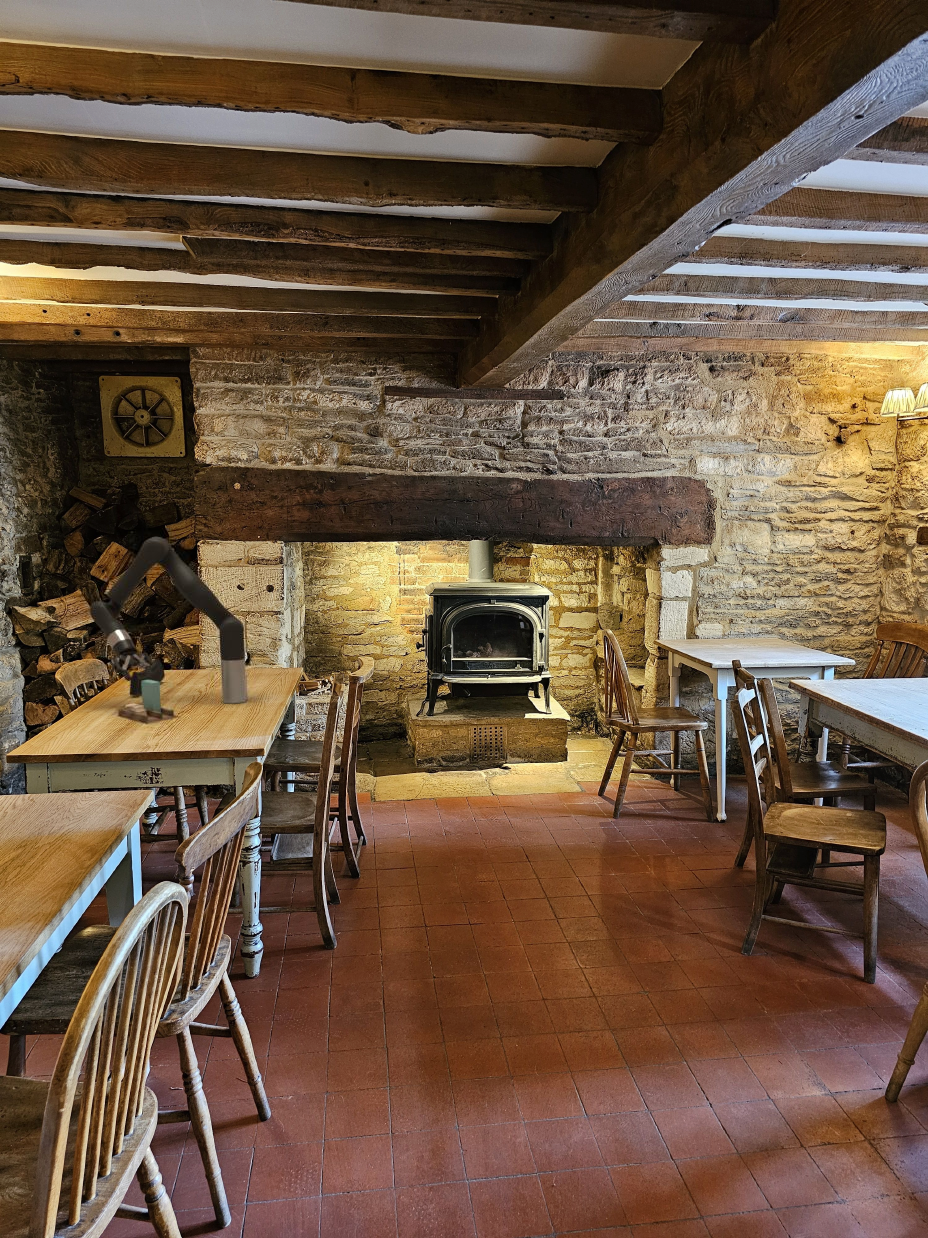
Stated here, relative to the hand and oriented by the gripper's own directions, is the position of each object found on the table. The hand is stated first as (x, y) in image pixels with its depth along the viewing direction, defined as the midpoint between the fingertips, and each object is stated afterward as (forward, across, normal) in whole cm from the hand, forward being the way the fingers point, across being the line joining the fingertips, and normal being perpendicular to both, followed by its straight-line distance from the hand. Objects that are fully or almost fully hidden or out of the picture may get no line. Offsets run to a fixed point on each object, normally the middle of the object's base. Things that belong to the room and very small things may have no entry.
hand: (140, 678), depth 300 cm
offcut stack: (+13, -7, +4) cm, 16 cm away
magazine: (-16, +25, +36) cm, 47 cm away
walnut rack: (+16, -3, +4) cm, 17 cm away
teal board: (+13, 0, +4) cm, 14 cm away
